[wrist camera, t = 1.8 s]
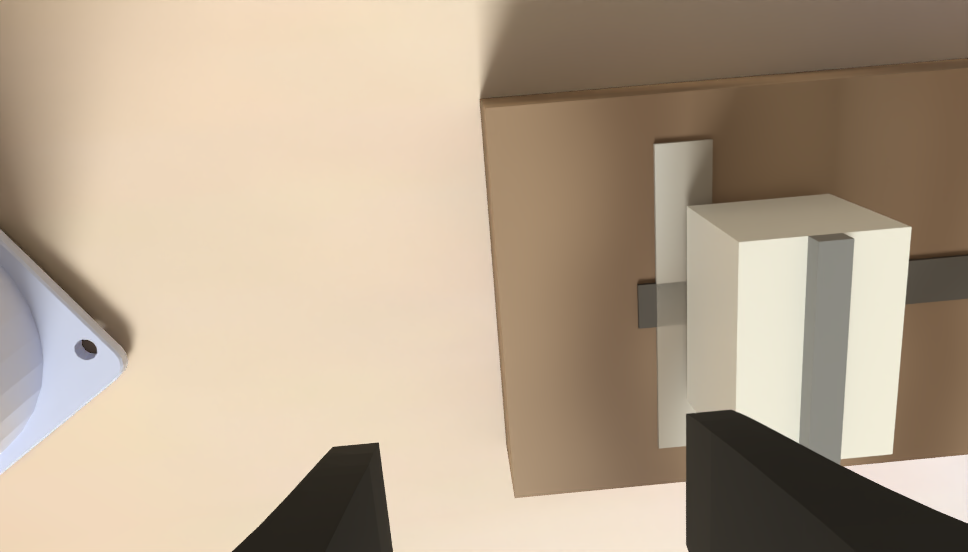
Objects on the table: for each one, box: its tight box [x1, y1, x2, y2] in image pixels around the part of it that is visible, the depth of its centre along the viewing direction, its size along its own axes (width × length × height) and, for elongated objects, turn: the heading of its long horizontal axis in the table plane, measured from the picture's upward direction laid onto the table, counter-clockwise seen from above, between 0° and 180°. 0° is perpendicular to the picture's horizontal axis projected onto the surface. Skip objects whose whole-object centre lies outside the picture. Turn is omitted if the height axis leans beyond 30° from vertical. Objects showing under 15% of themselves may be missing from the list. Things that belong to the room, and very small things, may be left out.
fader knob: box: [687, 194, 912, 465], centre depth 15 cm, size 3×4×3 cm
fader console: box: [480, 58, 968, 498], centre depth 18 cm, size 18×9×3 cm, turn 94°
